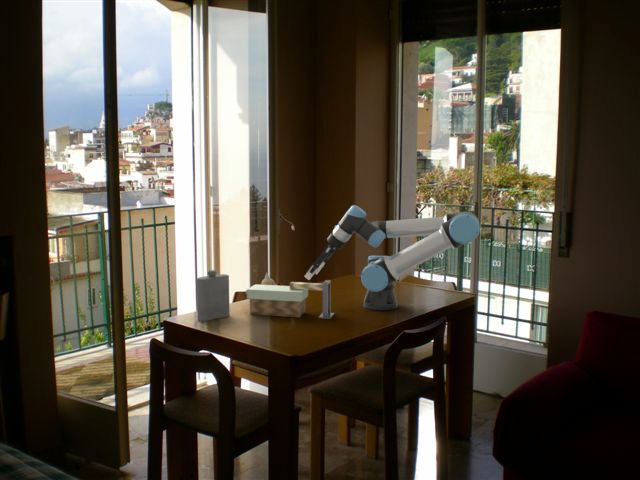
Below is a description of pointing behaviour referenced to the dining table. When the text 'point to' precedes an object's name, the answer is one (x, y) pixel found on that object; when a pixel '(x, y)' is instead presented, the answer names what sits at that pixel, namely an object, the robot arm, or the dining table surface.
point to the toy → (267, 281)
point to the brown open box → (277, 307)
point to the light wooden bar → (306, 286)
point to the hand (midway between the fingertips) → (310, 275)
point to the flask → (212, 296)
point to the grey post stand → (326, 300)
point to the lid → (276, 293)
